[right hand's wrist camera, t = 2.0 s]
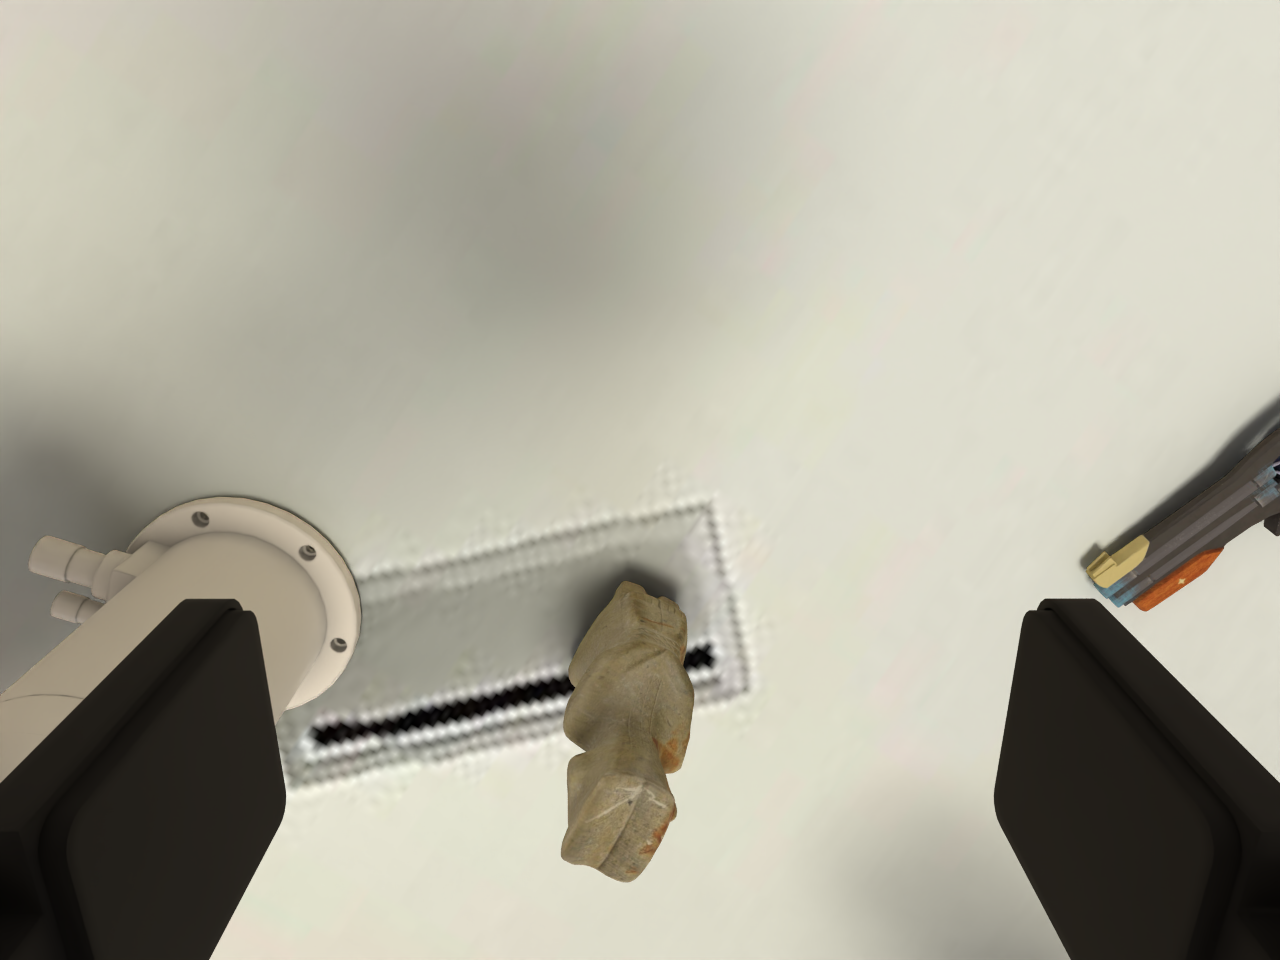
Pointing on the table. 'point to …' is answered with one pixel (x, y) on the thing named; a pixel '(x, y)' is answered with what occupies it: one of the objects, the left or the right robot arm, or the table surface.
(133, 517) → the table surface
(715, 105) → the table surface
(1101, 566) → the toy gun
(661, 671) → the sculpture
